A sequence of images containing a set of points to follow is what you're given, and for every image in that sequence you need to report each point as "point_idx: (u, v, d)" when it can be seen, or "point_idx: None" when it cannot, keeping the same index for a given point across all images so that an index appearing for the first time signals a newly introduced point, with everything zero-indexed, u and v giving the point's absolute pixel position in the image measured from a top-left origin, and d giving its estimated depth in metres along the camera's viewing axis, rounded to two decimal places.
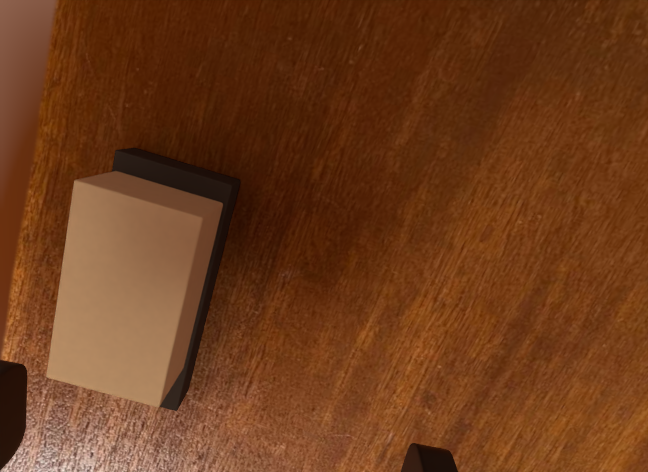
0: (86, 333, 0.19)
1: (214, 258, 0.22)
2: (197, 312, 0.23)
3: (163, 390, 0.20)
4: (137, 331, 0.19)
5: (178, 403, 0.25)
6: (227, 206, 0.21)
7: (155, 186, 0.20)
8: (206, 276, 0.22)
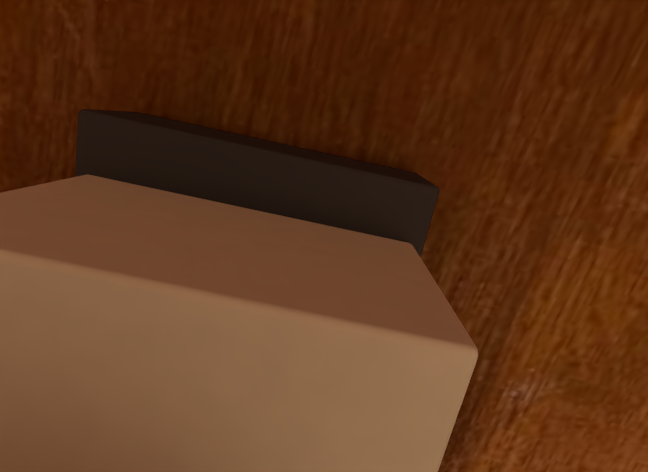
0: None
1: None
2: None
3: None
4: None
5: None
6: (420, 251, 0.07)
7: (213, 212, 0.06)
8: None
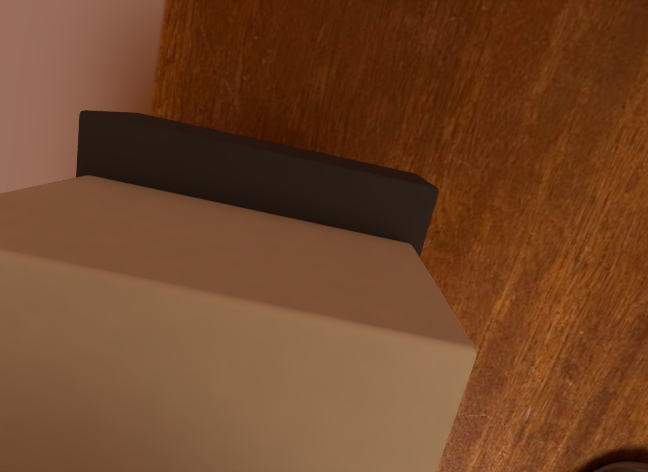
0: None
1: None
2: None
3: None
4: None
5: None
6: (419, 251, 0.07)
7: (213, 212, 0.06)
8: None
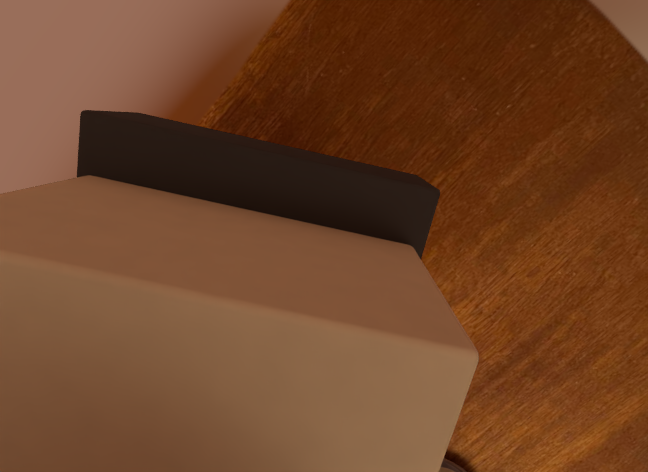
0: None
1: None
2: None
3: None
4: None
5: None
6: (420, 253, 0.07)
7: (214, 213, 0.06)
8: None
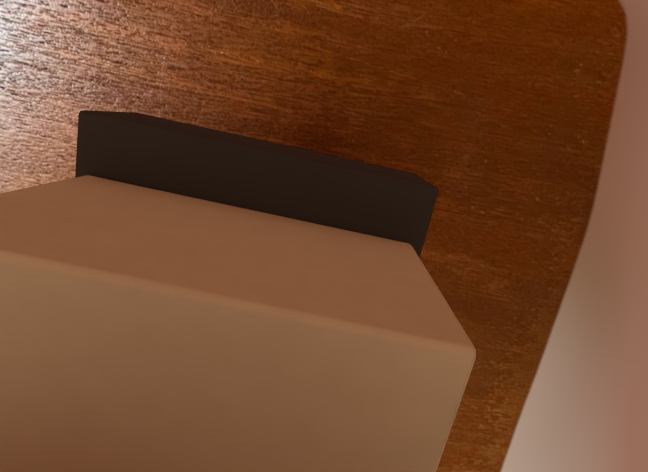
0: None
1: None
2: None
3: None
4: None
5: None
6: (419, 252, 0.07)
7: (212, 213, 0.06)
8: None
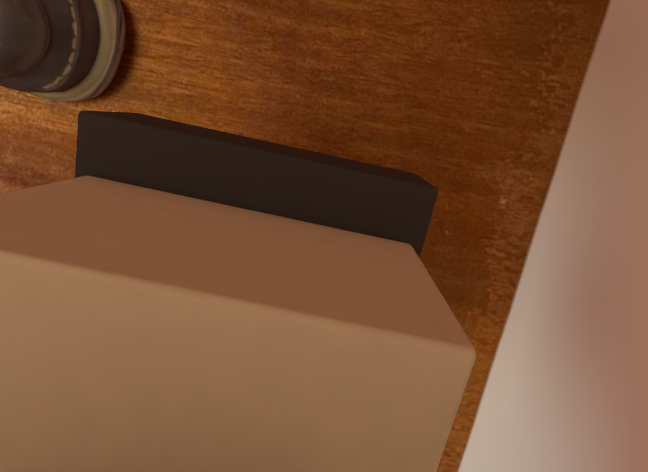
0: None
1: None
2: None
3: None
4: None
5: None
6: (419, 252, 0.07)
7: (212, 213, 0.06)
8: None
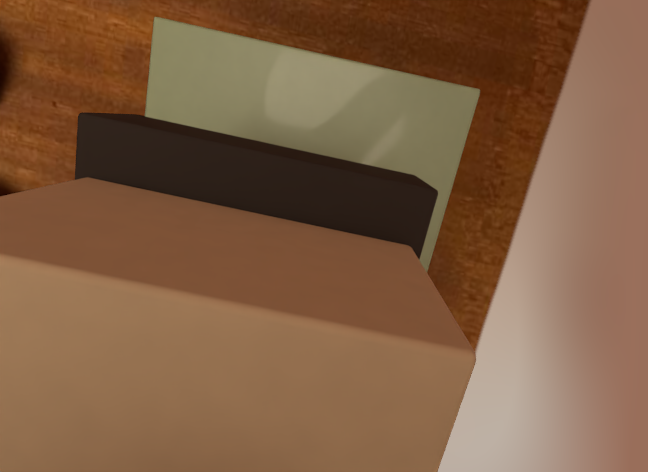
0: None
1: None
2: None
3: None
4: None
5: None
6: (419, 254, 0.07)
7: (212, 215, 0.06)
8: None
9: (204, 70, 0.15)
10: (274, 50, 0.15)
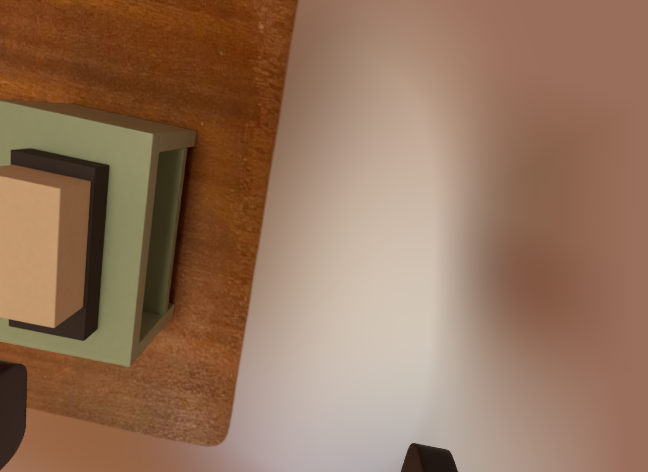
0: None
1: (92, 222, 0.31)
2: (86, 263, 0.31)
3: (55, 315, 0.29)
4: (29, 272, 0.28)
5: (84, 335, 0.33)
6: (95, 183, 0.30)
7: (38, 172, 0.29)
8: (88, 236, 0.31)
9: (17, 124, 0.31)
10: (50, 114, 0.31)
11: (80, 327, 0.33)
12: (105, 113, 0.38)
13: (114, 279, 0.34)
